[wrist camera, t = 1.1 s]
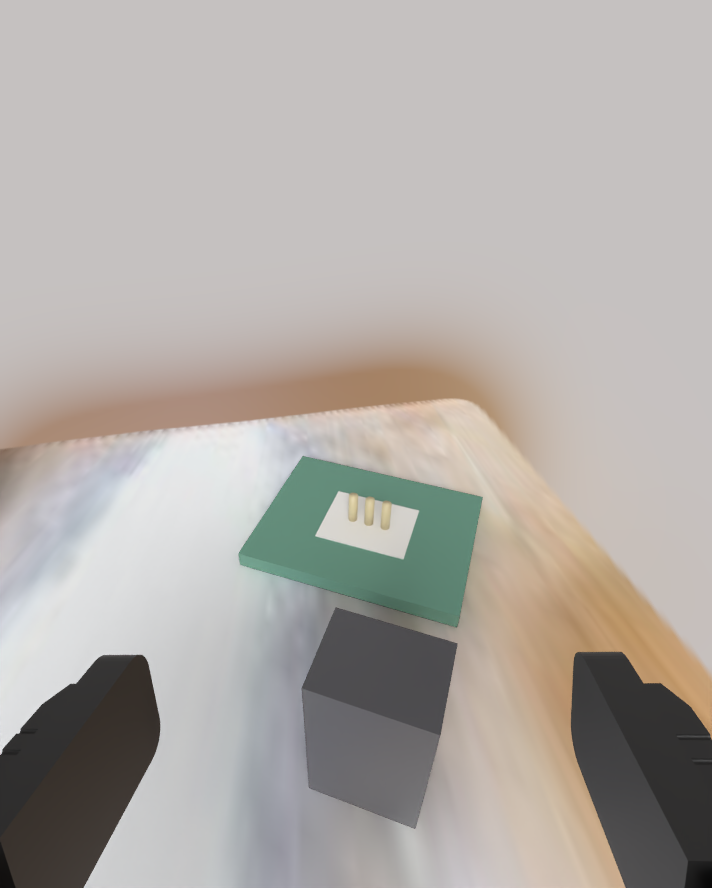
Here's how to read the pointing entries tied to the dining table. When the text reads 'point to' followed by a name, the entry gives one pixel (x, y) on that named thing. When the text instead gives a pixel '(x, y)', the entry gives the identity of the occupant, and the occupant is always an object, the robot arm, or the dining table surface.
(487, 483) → the dining table surface
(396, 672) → the block
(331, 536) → the pin board
